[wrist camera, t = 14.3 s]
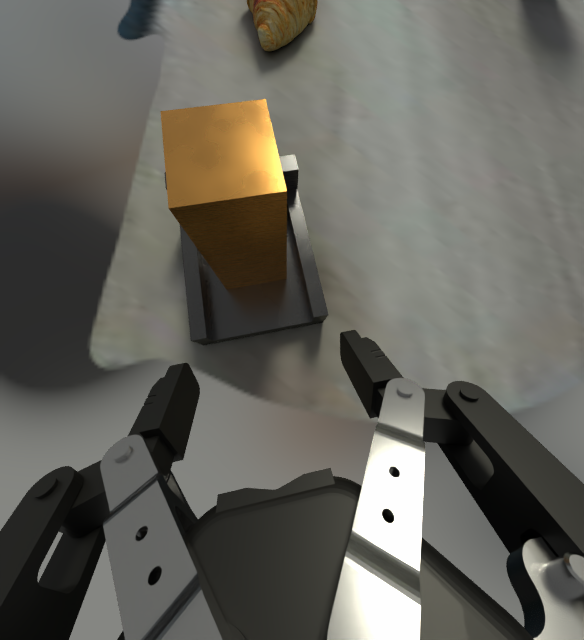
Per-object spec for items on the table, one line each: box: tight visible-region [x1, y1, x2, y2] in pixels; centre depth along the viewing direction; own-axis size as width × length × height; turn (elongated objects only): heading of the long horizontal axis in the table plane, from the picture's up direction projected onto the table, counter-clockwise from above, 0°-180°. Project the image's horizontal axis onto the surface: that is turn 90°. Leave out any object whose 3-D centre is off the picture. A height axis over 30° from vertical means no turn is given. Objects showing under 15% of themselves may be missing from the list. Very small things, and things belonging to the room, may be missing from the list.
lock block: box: [161, 99, 287, 290], centre depth 16 cm, size 6×6×10 cm
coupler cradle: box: [165, 155, 328, 345], centre depth 18 cm, size 15×11×7 cm
